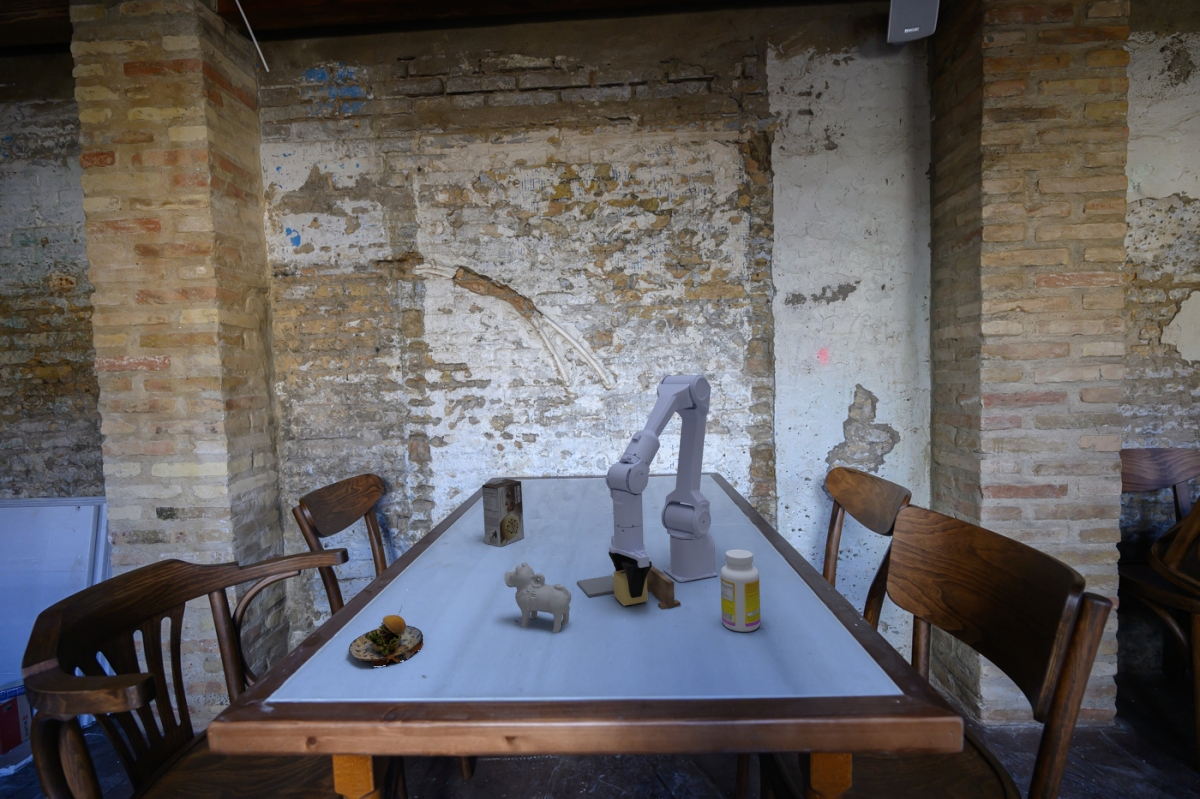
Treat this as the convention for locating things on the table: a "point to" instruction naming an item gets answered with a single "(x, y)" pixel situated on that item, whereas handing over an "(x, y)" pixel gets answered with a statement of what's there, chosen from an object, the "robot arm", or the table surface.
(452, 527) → the table surface
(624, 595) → the cube
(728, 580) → the supplement bottle
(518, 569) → the dog figurine
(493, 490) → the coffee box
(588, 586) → the coaster
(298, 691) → the table surface
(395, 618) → the burger
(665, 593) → the wooden board
